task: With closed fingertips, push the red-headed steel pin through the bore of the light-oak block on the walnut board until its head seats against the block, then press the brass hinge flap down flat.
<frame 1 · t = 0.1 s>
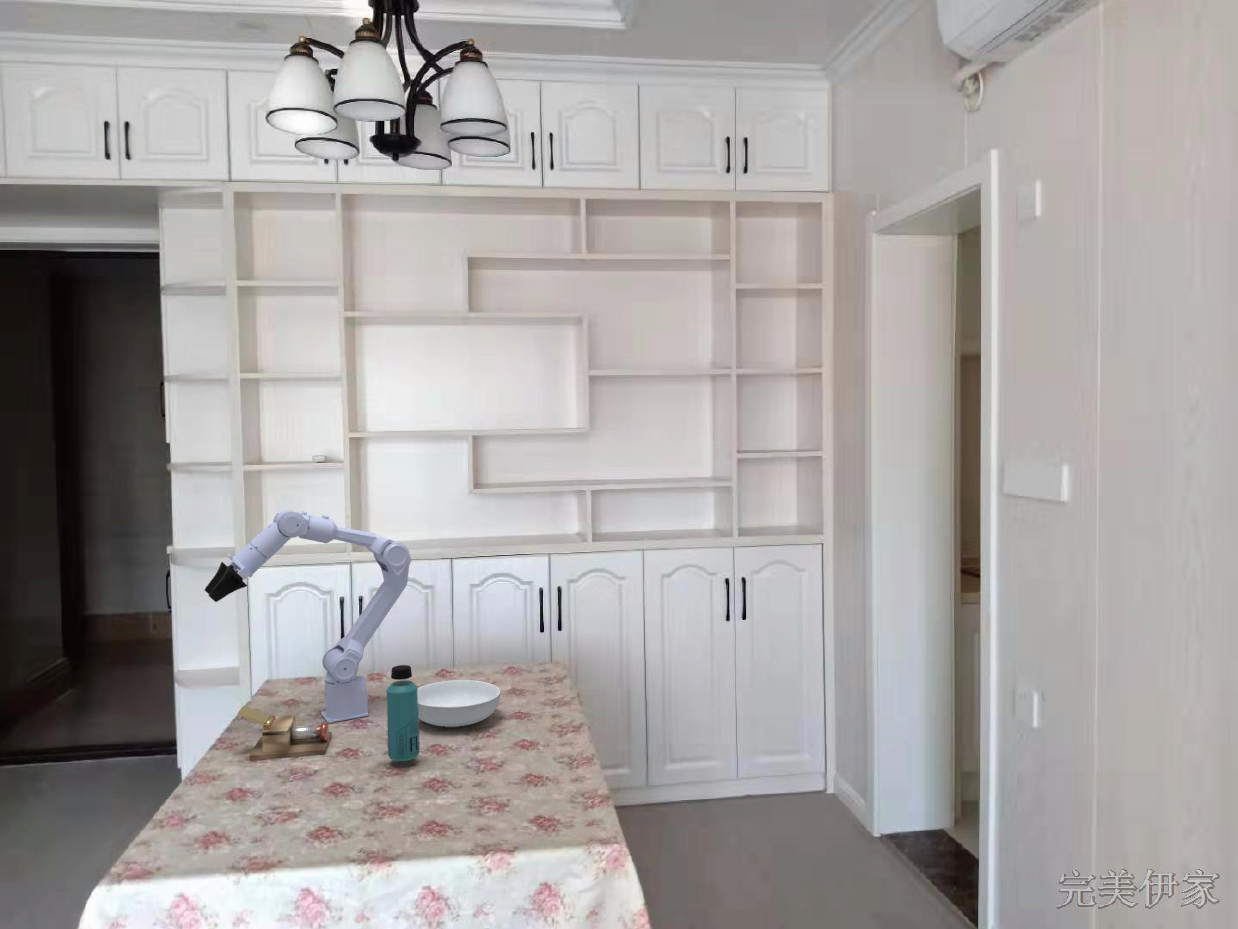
hand: (209, 596, 190), 32 cm above the table, tool tilted 50°, fingers open, 7 cm apart
hitch block: (292, 747, 186), on the table
serving bowl: (456, 722, 202), on the table
brass hinge flap: (256, 716, 184), point 7 cm above the table, hinge at 27.0°
beverage bottle: (403, 763, 177), on the table
pin: (302, 733, 186), point 3 cm above the table, slide at 0.0 cm
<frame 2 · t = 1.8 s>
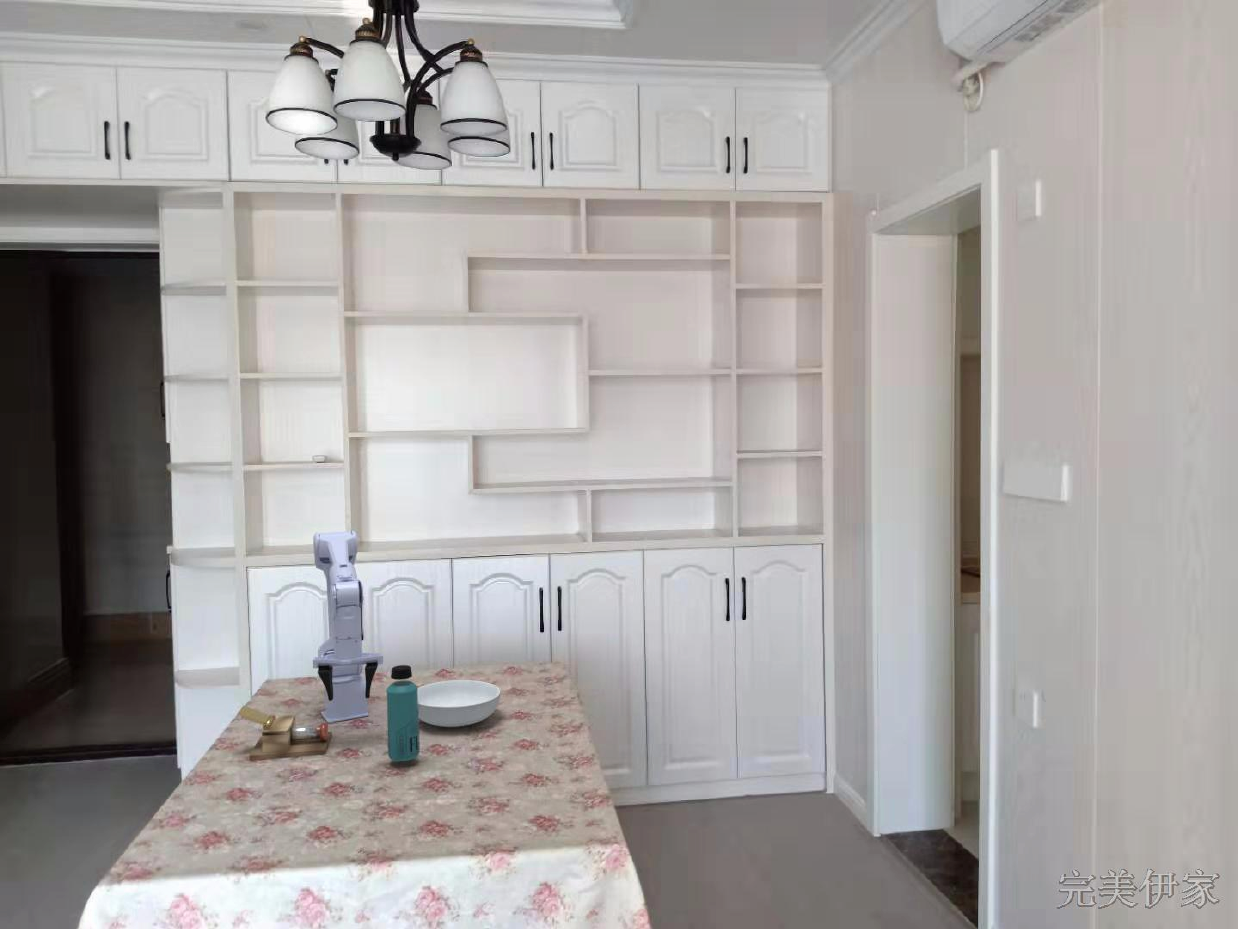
hand: (349, 698, 188), 10 cm above the table, tool pointing down, fingers open, 7 cm apart
nothing on the table moved.
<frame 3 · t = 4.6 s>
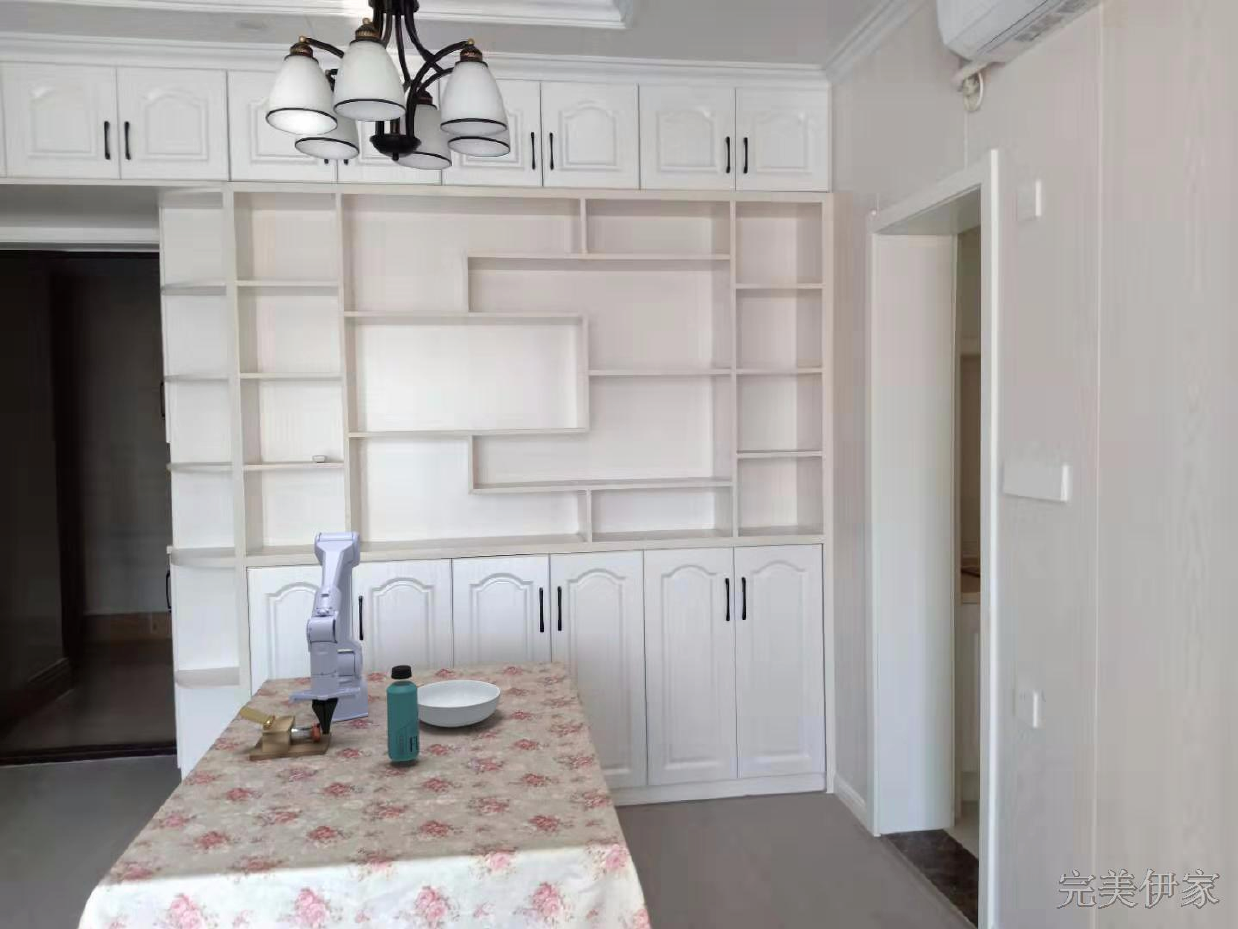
hand: (326, 732, 187), 3 cm above the table, tool pointing down, fingers closed
pin: (295, 733, 186), point 3 cm above the table, slide at 1.5 cm, touching gripper
everything else where it was.
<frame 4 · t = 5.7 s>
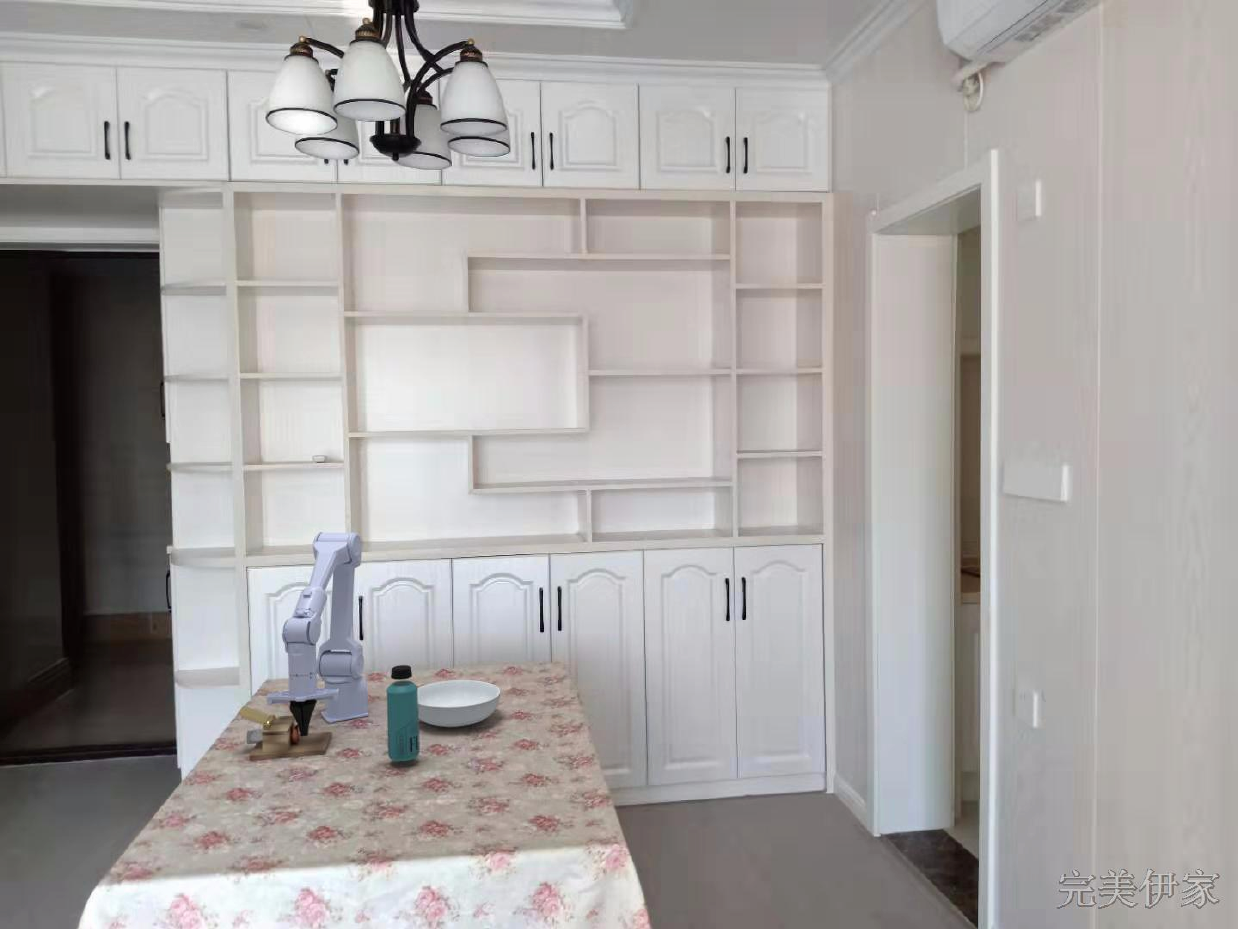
hand: (304, 734, 186), 3 cm above the table, tool pointing down, fingers closed
pin: (273, 735, 185), point 3 cm above the table, slide at 6.0 cm, touching gripper
everything else where it was.
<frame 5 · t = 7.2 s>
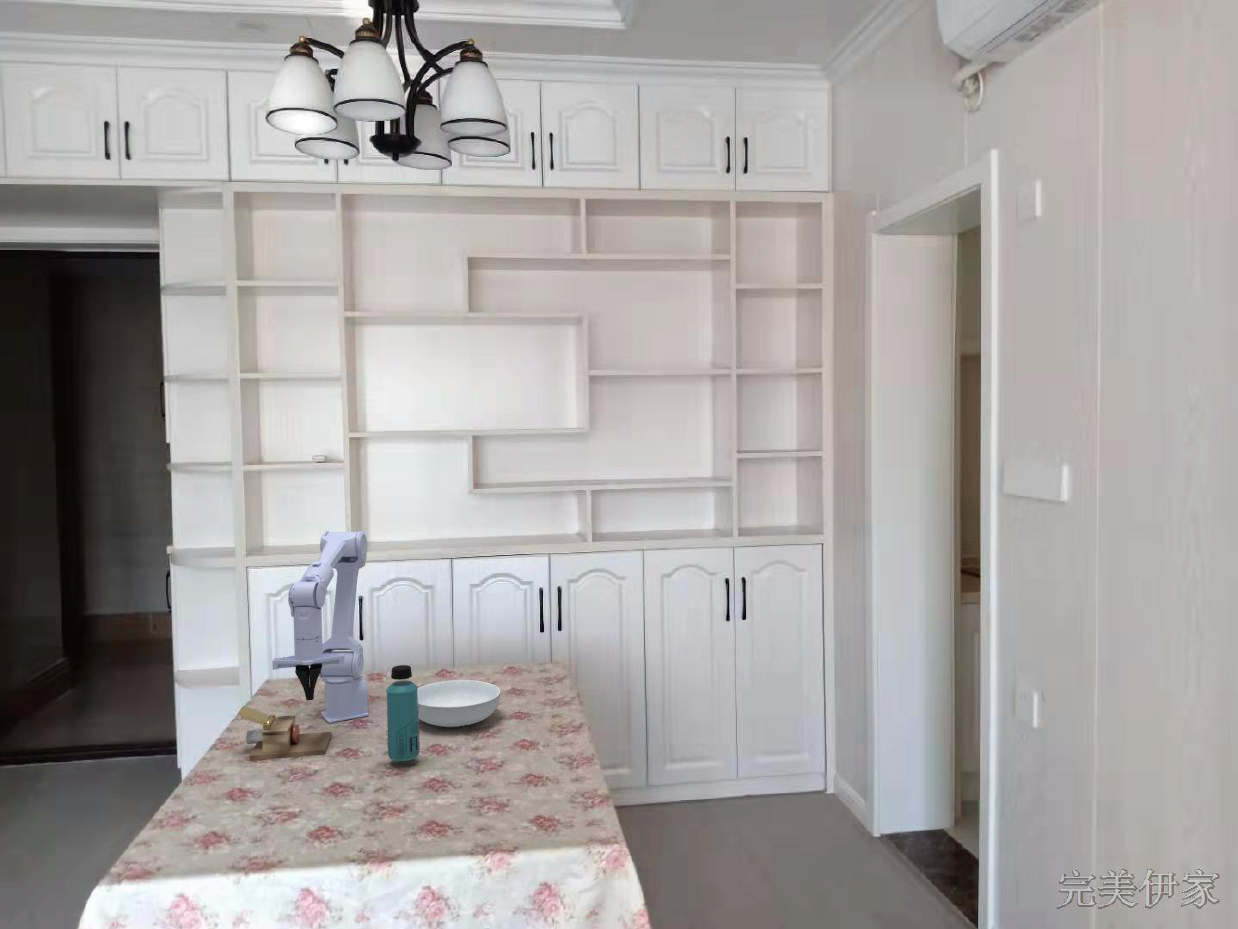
hand: (309, 699, 186), 10 cm above the table, tool pointing down, fingers closed
pin: (273, 735, 185), point 3 cm above the table, slide at 6.0 cm
everything else where it was.
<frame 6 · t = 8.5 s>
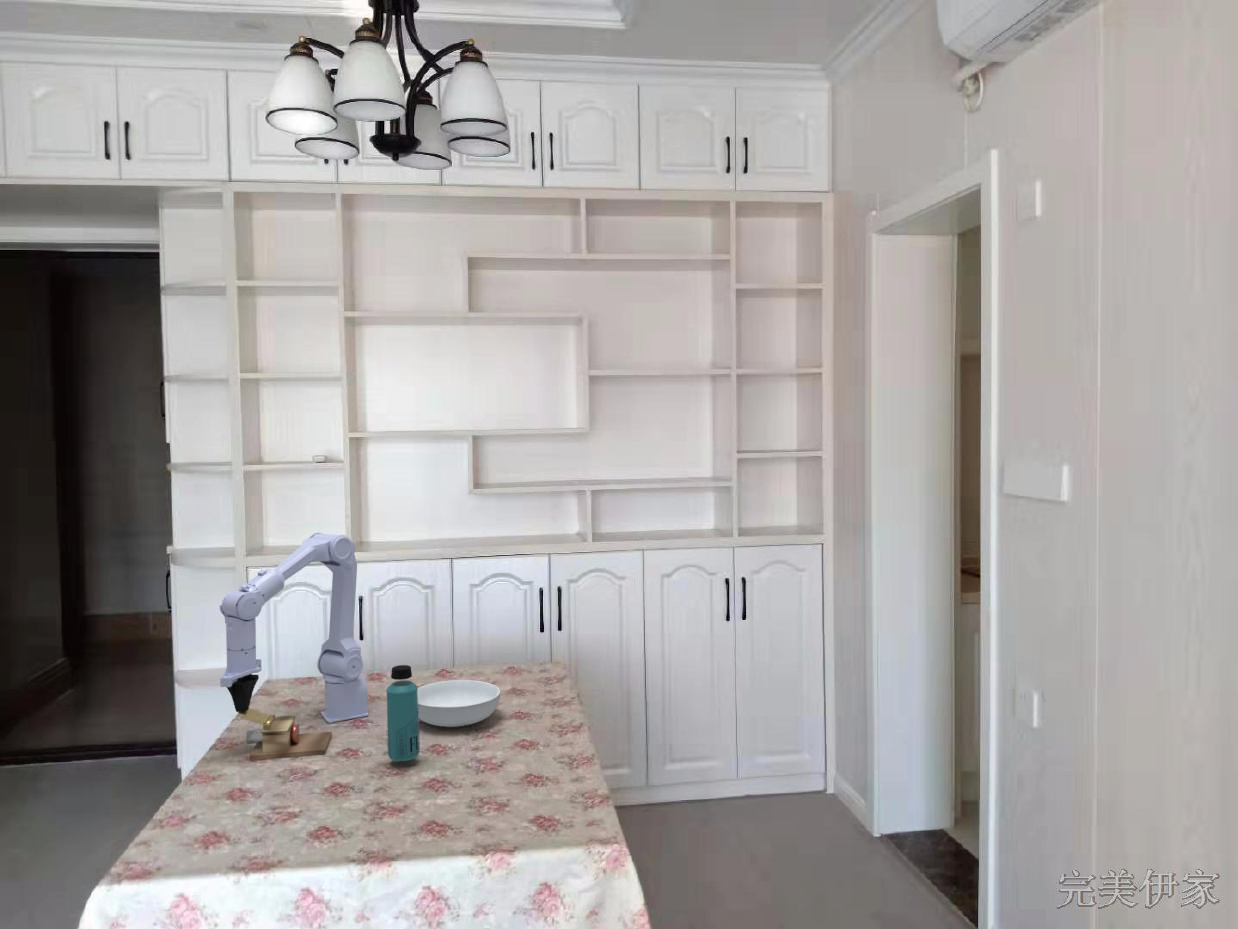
hand: (242, 711, 184), 9 cm above the table, tool pointing down, fingers closed, pressing on brass hinge flap
brass hinge flap: (255, 716, 184), point 7 cm above the table, hinge at 25.6°, touching gripper
everything else where it was.
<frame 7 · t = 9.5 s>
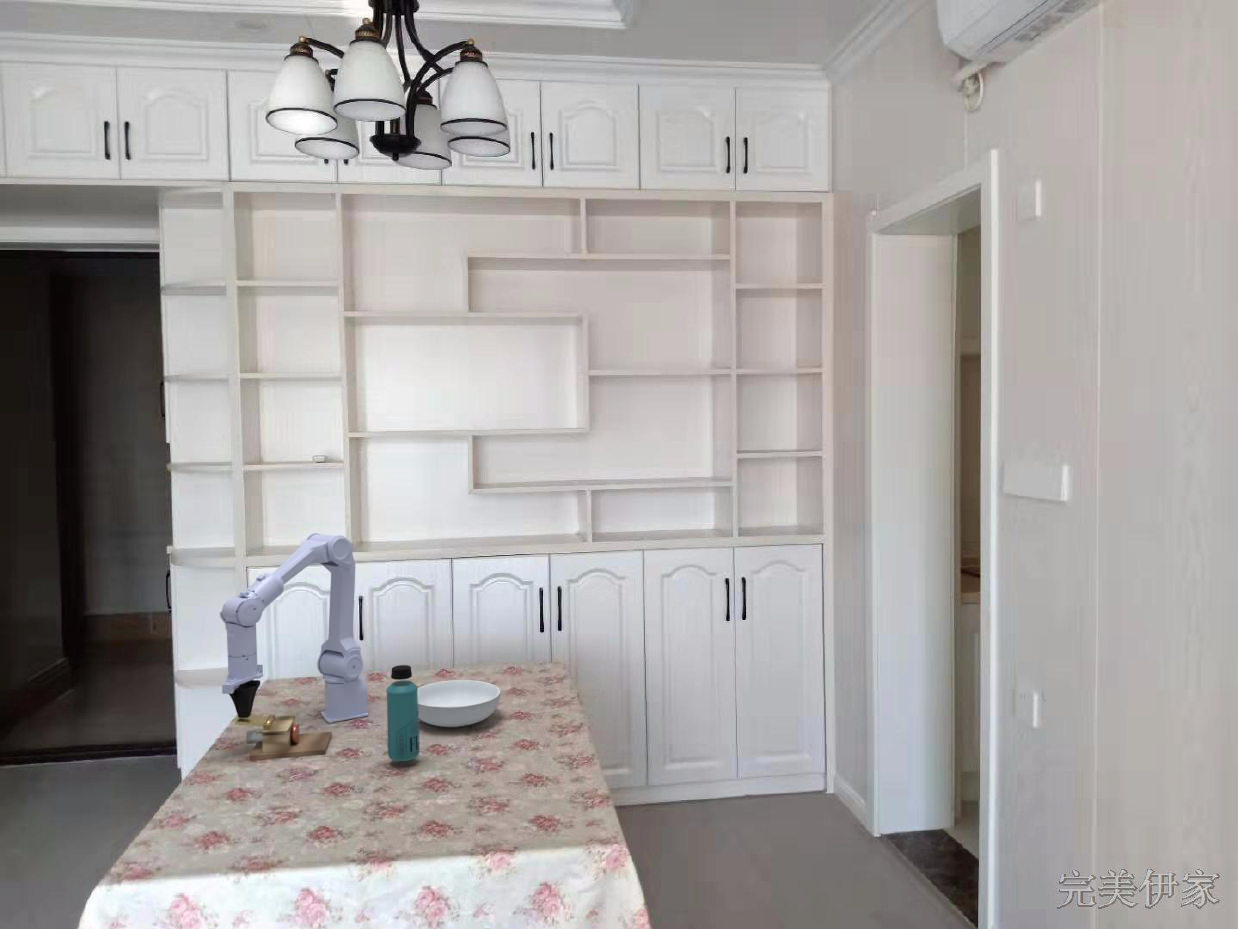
hand: (244, 716, 184), 8 cm above the table, tool pointing down, fingers closed
brass hinge flap: (254, 720, 184), point 7 cm above the table, hinge at 8.2°
everything else where it was.
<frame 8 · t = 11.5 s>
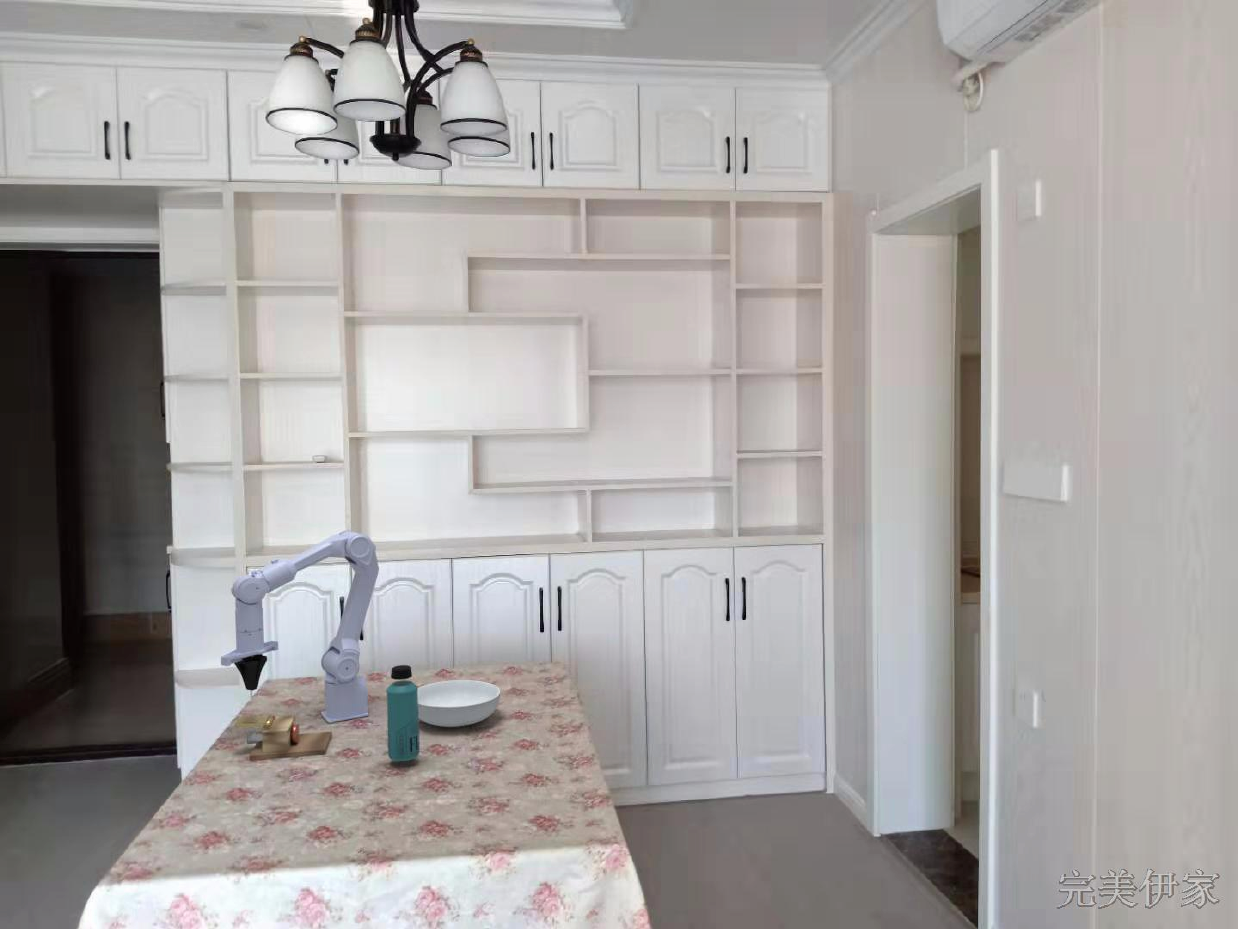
hand: (251, 689, 193), 10 cm above the table, tool pointing down, fingers closed
brass hinge flap: (254, 721, 184), point 6 cm above the table, hinge at 4.3°
everything else where it was.
at the end: pin slide at 6.0 cm; brass hinge flap at +4° (first picture: +27°) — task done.
